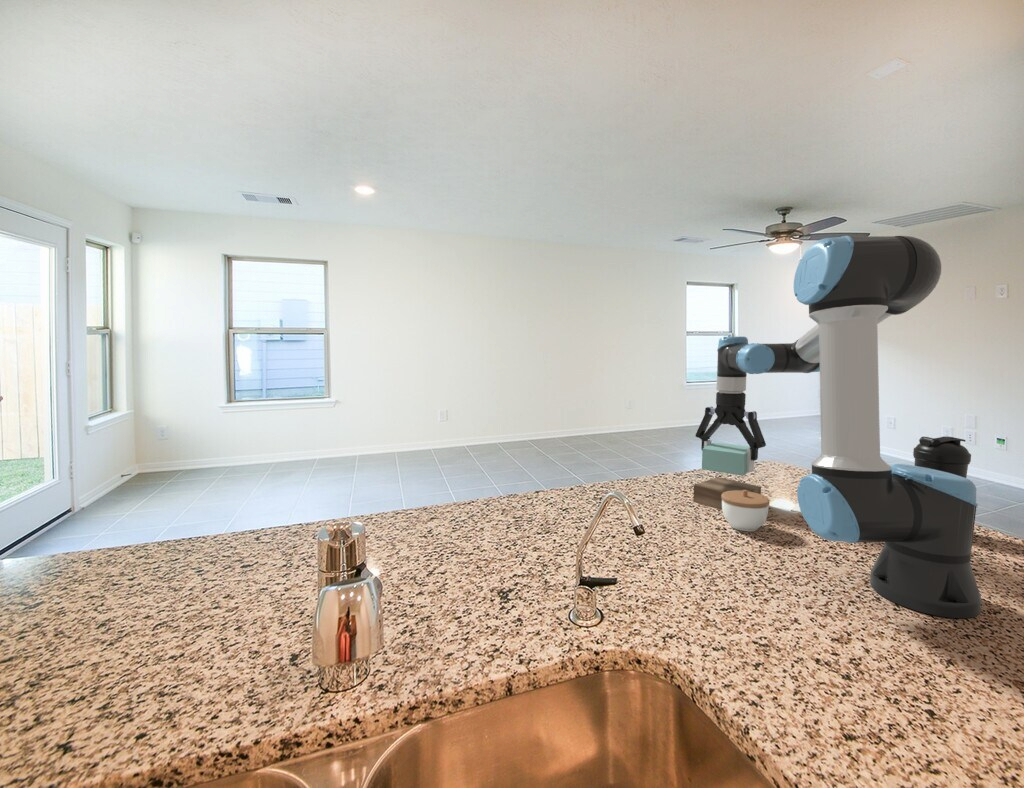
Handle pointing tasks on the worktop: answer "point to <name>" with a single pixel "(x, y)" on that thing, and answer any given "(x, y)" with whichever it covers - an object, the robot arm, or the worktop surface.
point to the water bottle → (942, 455)
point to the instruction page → (796, 508)
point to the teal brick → (725, 458)
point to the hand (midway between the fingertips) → (727, 466)
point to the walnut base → (719, 490)
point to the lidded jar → (744, 509)
